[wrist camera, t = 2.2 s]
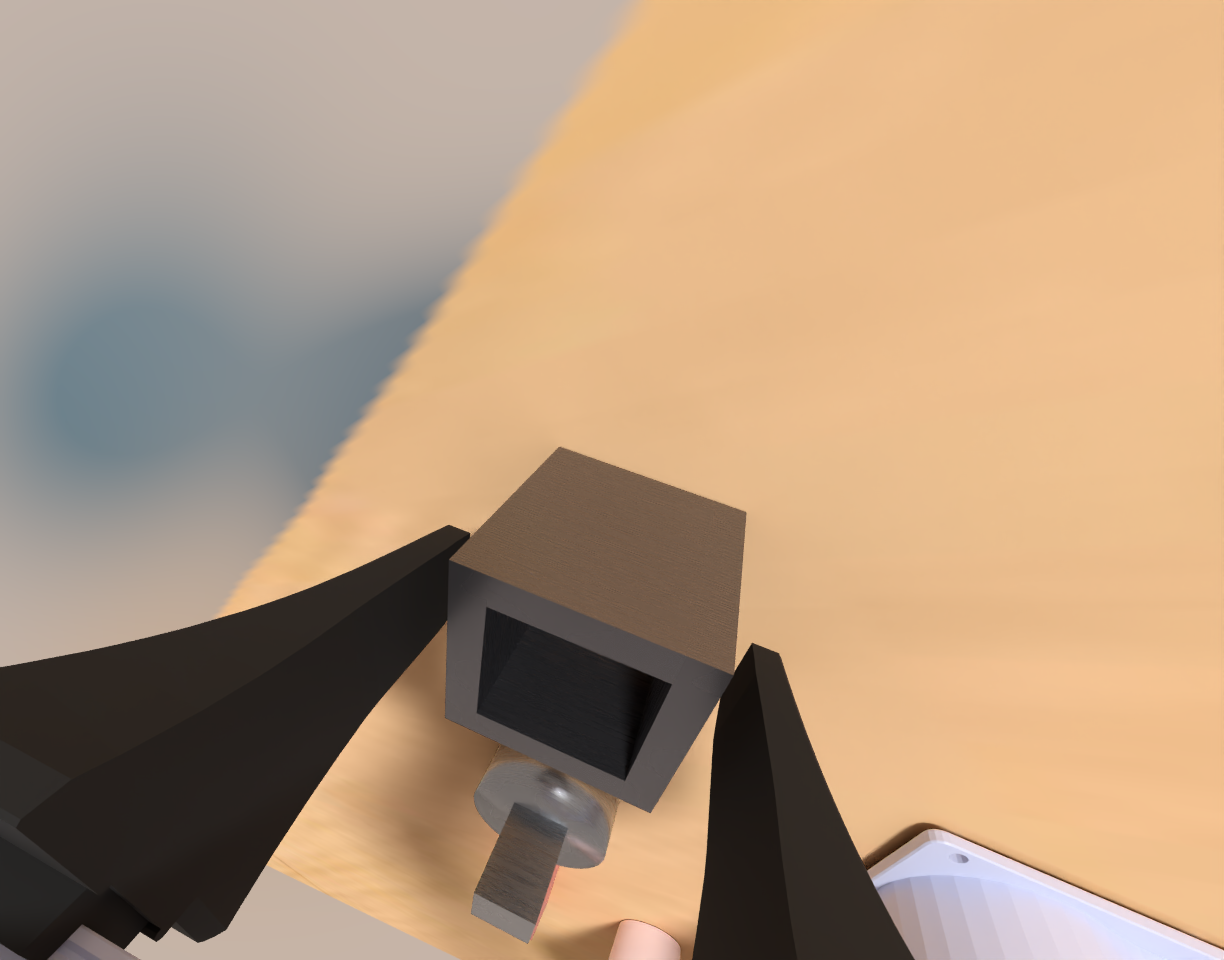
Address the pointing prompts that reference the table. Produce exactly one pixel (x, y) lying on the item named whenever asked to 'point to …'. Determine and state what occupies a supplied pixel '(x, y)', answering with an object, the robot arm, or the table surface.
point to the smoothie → (643, 943)
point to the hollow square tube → (596, 623)
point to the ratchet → (535, 837)
